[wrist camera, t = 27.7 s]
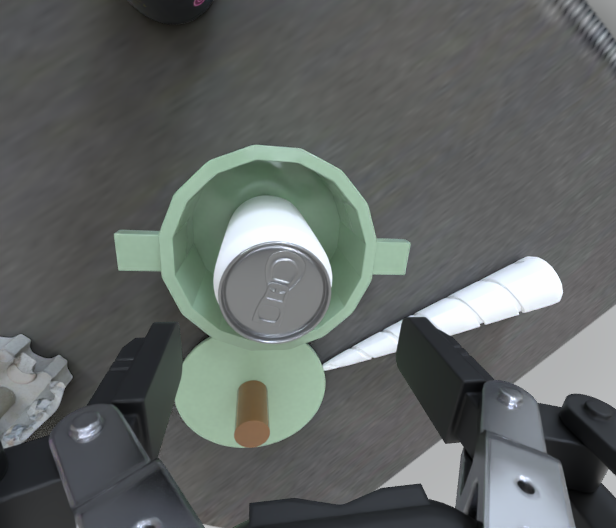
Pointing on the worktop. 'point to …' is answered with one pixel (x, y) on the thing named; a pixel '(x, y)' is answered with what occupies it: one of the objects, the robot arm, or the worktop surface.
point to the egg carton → (27, 389)
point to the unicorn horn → (471, 307)
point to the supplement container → (171, 9)
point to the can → (271, 273)
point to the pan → (215, 218)
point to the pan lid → (249, 392)
